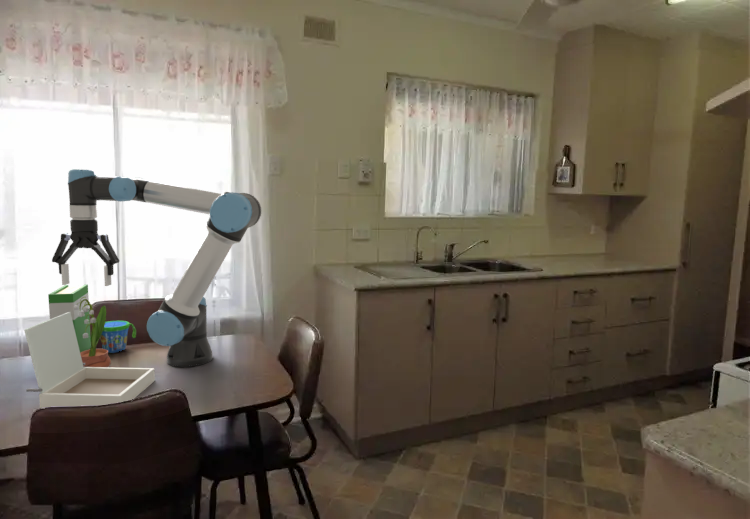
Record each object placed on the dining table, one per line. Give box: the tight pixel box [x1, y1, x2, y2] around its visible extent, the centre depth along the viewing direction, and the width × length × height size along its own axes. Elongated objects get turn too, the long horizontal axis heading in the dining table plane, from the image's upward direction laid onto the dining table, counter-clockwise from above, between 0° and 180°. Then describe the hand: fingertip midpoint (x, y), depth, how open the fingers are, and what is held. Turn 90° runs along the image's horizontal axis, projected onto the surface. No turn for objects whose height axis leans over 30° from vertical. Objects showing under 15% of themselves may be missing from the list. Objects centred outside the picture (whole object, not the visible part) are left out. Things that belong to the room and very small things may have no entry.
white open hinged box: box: [23, 312, 156, 409], centre depth 150 cm, size 26×22×22 cm
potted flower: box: [74, 297, 112, 367], centre depth 169 cm, size 12×10×25 cm
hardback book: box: [48, 284, 91, 352], centre depth 183 cm, size 18×7×24 cm, turn 15°
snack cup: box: [99, 320, 137, 354], centre depth 190 cm, size 16×10×10 cm
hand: (87, 284), depth 167 cm, fingers open, 13 cm apart
